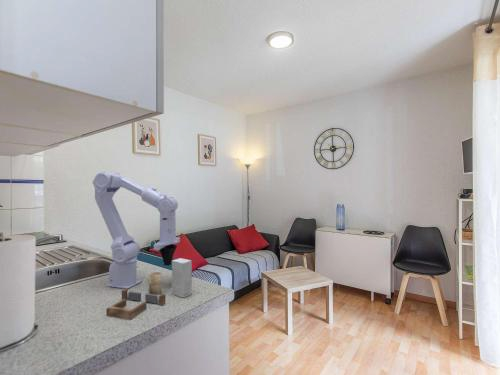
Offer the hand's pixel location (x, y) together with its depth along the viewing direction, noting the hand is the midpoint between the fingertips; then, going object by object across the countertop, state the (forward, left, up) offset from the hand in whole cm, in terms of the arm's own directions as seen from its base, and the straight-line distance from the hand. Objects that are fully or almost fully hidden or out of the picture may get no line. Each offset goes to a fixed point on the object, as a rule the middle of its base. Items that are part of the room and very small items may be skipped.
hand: (167, 264), depth 100 cm
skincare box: (+9, -5, -8) cm, 13 cm away
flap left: (-4, -14, -8) cm, 17 cm away
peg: (0, -8, -8) cm, 11 cm away
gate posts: (0, -14, -8) cm, 16 cm away
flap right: (+4, -14, -8) cm, 17 cm away
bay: (0, -21, -8) cm, 22 cm away
